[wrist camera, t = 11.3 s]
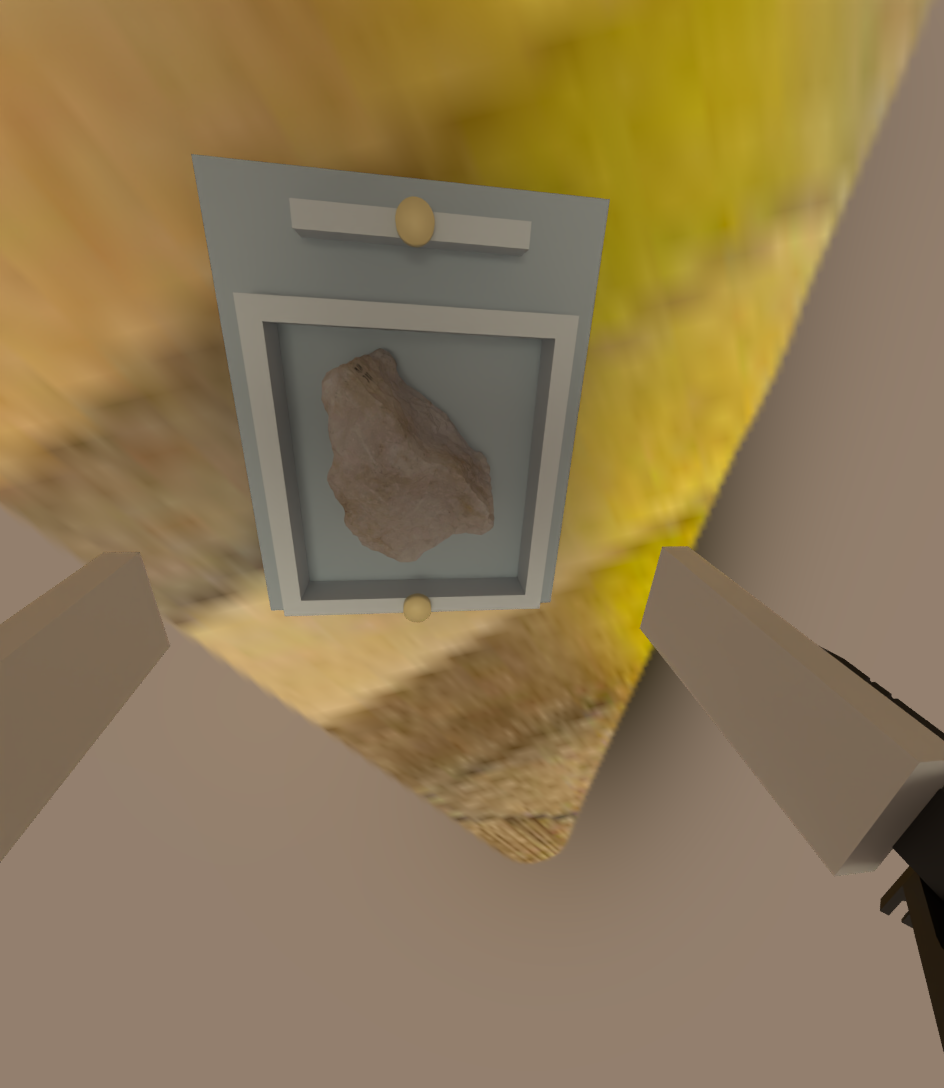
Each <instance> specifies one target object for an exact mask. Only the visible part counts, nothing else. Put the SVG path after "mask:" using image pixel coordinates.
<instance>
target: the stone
mask: <svg viewBox="0 0 944 1088" xmlns="http://www.w3.org/2000/svg"><path fill="white" fill-rule="evenodd" d="M396 366H397V364H396V361H395V359H394V358H393V357H392V355H391V354H390V352H388V351H386V350H384V349H381V348H378V349H377V350H375V351H373V352H372V353H370V354H367V355H363V356H361V357H355V358H354V359H353V360H351V361H349V362H348V363H347V364H342V365H339V367H336V368H334V369H332V370H330V371H328V372H327V373H326V375H325V377H324V379H323V380H322V397H321V400H322V402H323V404H324V408H325V410H326V412H327V413H328V415H329V418H328V432H329V439H330V442H331V445H332V450H333V454H334V457H333V462H332V466H331V468H330V470H329V472H328V475H327V481H328V483H329V486H330V488H331V489H332V490H333V492H334V495H335V498H336V499H337V500H338V501H339V503H340V504H341V505H342V506H343V508H344V511H345V516H344V522H345V525H346V526H347V527H348V529H349V530H350V531H351V532H352V533H353V535H355V536H357V537H358V539H359V541H360V542H361V543H362V545H363V546H365V547H368V548H369V549H371V550H373V551H378V552H380V553H382V554H384V555H386V556H387V557H390V558H393V559H395V560H397V561H399V562H413V561H416V560H417V559H419V558H420V557H421V555H422V554H423V553H424V552H426V551H427V550H429V549H432V548H434V547H435V546H437V545H438V544H439V543H441V542H442V541H444V540H445V539H447V538H449V537H450V536H451V535H452V534H462V533H468V534H476V535H483V534H485V533H486V532H488V531H490V530H491V529H492V528H493V526H494V506H493V496H492V492H491V490H492V487H491V477H490V475H489V474H490V470H491V469H490V466H489V464H488V463H487V458H486V457H485V456H484V455H483V453H482V452H476V451H474V450H473V449H472V448H471V447H469V445H468V444H467V442H466V441H465V440H464V438H463V437H462V436H461V435H460V433H459V432H458V431H457V428H456V427H455V425H454V424H453V423H452V422H451V420H450V419H449V417H448V416H447V414H445V413H444V412H443V411H442V410H440V409H439V408H437V407H436V406H434V405H433V404H432V403H431V402H430V401H429V400H427V399H426V398H425V397H424V396H423V395H422V394H421V393H420V392H418V391H416V390H415V389H413V388H412V387H410V386H408V385H407V384H406V383H405V382H404V381H403V380H402V378H401V377H400V376H399V374H398V372H397V370H396Z"/></svg>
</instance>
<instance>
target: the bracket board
mask: <svg viewBox="0 0 944 1088" xmlns="http://www.w3.org/2000/svg"><path fill="white" fill-rule="evenodd" d="M191 155H192V161H193V167H194V172H195V178H196V184H197V190H198V195H199V201H200V207H201V212H202V218H203V224H204V230H205V235H206V241H207V247H208V252H209V258H210V264H211V270H212V275H213V281H214V287H215V292H216V298H217V304H218V310H219V315H220V321H221V327H222V332H223V338H224V344H225V350H226V355H227V361H228V367H229V372H230V378H231V384H232V390H233V395H234V401H235V407H236V412H237V418H238V424H239V430H240V435H241V441H242V447H243V452H244V458H245V464H246V470H247V475H248V481H249V487H250V492H251V498H252V504H253V510H254V515H255V521H256V527H257V533H258V538H259V544H260V550H261V555H262V561H263V567H264V573H265V578H266V584H267V590H268V595H269V601H270V607H271V610H284V615H285V616H310V615H342V614H374V613H404V616H405V617H406V618H407V619H408V620H410V621H412V622H422V621H424V620H426V619H427V618H428V617H429V616H430V614H431V612H439V611H471V610H503V609H536V608H540V603H542V602H550V601H551V594H552V587H553V580H554V574H555V567H556V560H557V553H558V546H559V540H560V533H561V526H562V519H563V513H564V506H565V499H566V492H567V485H568V479H569V472H570V465H571V458H572V451H573V445H574V438H575V431H576V424H577V418H578V411H579V404H580V397H581V390H582V384H583V377H584V370H585V363H586V356H587V350H588V343H589V336H590V329H591V323H592V316H593V309H594V302H595V295H596V289H597V282H598V275H599V268H600V261H601V255H602V248H603V241H604V234H605V228H606V221H607V214H608V207H609V199H600V198H591V197H582V196H572V195H563V194H554V193H545V192H536V191H526V190H517V189H508V188H499V187H489V186H480V185H471V184H462V183H452V182H443V181H434V180H425V179H416V178H406V177H397V176H388V175H379V174H369V173H360V172H351V171H342V170H332V169H323V168H314V167H305V166H296V165H286V164H277V163H268V162H259V161H249V160H240V159H231V158H222V157H212V156H203V155H194V154H191ZM378 348H381V349H384V350H386V351H388V352H390V354H391V355H392V357H393V358H394V359H395V361H396V364H397V366H396V370H397V372H398V374H399V376H400V377H401V378H402V380H403V381H404V382H405V383H406V384H407V385H408V386H410V387H412V388H413V389H415V390H416V391H418V392H420V393H421V394H422V395H423V396H424V397H425V398H426V399H427V400H429V401H430V402H431V403H432V404H433V405H434V406H436V407H437V408H439V409H440V410H442V411H443V412H444V413H445V414H447V416H448V417H449V419H450V420H451V422H452V423H453V424H454V425H455V427H456V428H457V431H458V432H459V433H460V435H461V436H462V437H463V438H464V440H465V441H466V442H467V444H468V445H469V447H471V448H472V449H473V450H474V451H476V452H482V453H483V455H484V456H485V457H486V458H487V463H488V464H489V466H490V469H491V470H490V474H489V475H490V477H491V487H492V490H491V492H492V496H493V506H494V526H493V528H492V529H491V530H490V531H488V532H486V533H485V534H483V535H476V534H468V533H462V534H452V535H451V536H450V537H449V538H447V539H445V540H444V541H442V542H441V543H439V544H438V545H437V546H435V547H434V548H432V549H429V550H427V551H426V552H424V553H423V554H422V555H421V557H420V558H419V559H417V560H416V561H413V562H399V561H397V560H395V559H393V558H390V557H387V556H386V555H384V554H382V553H380V552H378V551H373V550H371V549H369V548H368V547H365V546H363V545H362V543H361V542H360V541H359V539H358V537H357V536H355V535H353V533H352V532H351V531H350V530H349V529H348V527H347V526H346V525H345V522H344V516H345V511H344V508H343V506H342V505H341V504H340V503H339V501H338V500H337V499H336V498H335V495H334V492H333V490H332V489H331V488H330V486H329V483H328V481H327V475H328V472H329V470H330V468H331V466H332V462H333V457H334V454H333V450H332V445H331V442H330V439H329V432H328V418H329V415H328V413H327V412H326V410H325V408H324V404H323V402H322V400H321V397H322V380H323V379H324V377H325V375H326V373H327V372H328V371H330V370H332V369H334V368H336V367H339V365H342V364H347V363H348V362H349V361H351V360H353V359H354V358H355V357H361V356H363V355H367V354H370V353H372V352H373V351H375V350H377V349H378Z"/></svg>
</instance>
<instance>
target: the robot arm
mask: <svg viewBox="0 0 944 1088" xmlns="http://www.w3.org/2000/svg"><path fill="white" fill-rule="evenodd" d="M640 629H641V630H642V631H643V633H644V634H645V635H646V637H647V638H648V639H649V640H650V642H651V643H652V644H653V646H654V647H655V648H656V649H657V650H658V652H659V653H660V654H661V656H662V657H663V658H664V660H665V661H666V662H667V663H668V665H669V666H670V667H671V669H672V670H673V671H674V672H675V673H676V675H677V676H678V677H679V679H680V680H681V681H682V683H683V684H684V685H685V686H686V688H687V689H688V690H689V692H690V693H691V694H692V695H693V696H694V698H695V699H696V700H697V702H698V703H699V704H700V705H701V707H702V708H703V709H704V711H705V712H706V713H707V714H708V716H709V717H710V718H711V719H712V721H713V722H714V723H715V725H716V726H717V727H718V728H719V730H720V731H721V732H722V733H723V735H724V736H725V737H726V739H727V740H728V741H729V743H730V744H731V745H732V746H733V748H734V749H735V750H736V752H737V753H738V754H739V755H740V757H741V758H742V759H743V760H744V762H745V763H746V764H747V765H748V767H749V768H750V769H751V770H752V772H753V773H754V775H755V776H756V777H757V778H758V779H759V781H760V782H761V783H762V785H763V786H764V787H765V789H766V790H767V791H768V792H769V794H770V795H771V796H772V798H773V799H774V800H775V801H776V802H777V804H778V805H779V806H780V808H781V809H782V810H783V812H784V813H785V814H786V815H787V816H788V818H789V819H790V821H791V822H792V823H793V824H794V826H795V827H796V828H797V829H798V831H799V832H800V833H801V835H802V836H803V837H804V838H805V840H806V841H807V842H808V843H809V845H810V846H811V847H812V849H813V850H814V851H815V852H816V854H817V855H818V856H819V858H820V859H821V860H822V861H823V863H824V864H825V865H826V867H827V868H828V869H829V870H830V872H831V873H832V874H833V875H834V876H841V875H849V874H856V873H864V872H871V871H875V870H876V869H877V867H878V866H879V865H880V864H881V863H882V861H883V860H884V859H885V858H886V856H887V855H888V854H889V853H890V851H891V850H892V849H894V850H895V851H896V852H897V853H898V854H899V855H900V856H901V857H902V858H903V859H904V860H905V861H906V862H907V864H908V865H909V867H908V868H907V869H906V871H905V872H904V873H903V874H902V875H901V876H900V877H899V879H898V880H897V881H896V882H895V883H894V884H893V886H892V887H891V888H890V889H889V890H888V891H887V892H886V894H885V895H884V896H883V897H882V898H881V904H880V911H881V912H883V913H885V914H887V915H890V913H891V912H892V911H893V910H894V909H895V908H896V907H897V906H898V905H899V904H900V903H901V901H902V900H903V901H906V902H907V906H908V910H909V911H908V912H907V913H906V914H905V915H904V917H903V918H902V923H904V924H906V925H908V926H910V927H912V928H913V929H914V934H915V938H916V942H917V946H918V950H919V954H920V958H921V962H922V966H923V970H924V974H925V978H926V982H927V986H928V990H929V995H930V999H931V1003H932V1006H933V1011H934V1015H935V1019H936V1023H937V1027H938V1031H939V1035H940V1039H941V1043H942V1047H943V1051H944V733H943V732H942V731H940V730H939V729H938V728H936V727H935V726H934V725H932V724H931V723H930V722H928V721H927V720H925V719H924V718H923V717H921V716H920V715H919V714H917V713H916V712H915V711H913V710H912V709H911V708H909V707H908V706H906V705H905V704H904V703H903V702H901V701H900V700H899V699H893V698H892V696H891V693H889V692H888V691H887V690H885V689H884V688H883V687H881V686H880V685H878V684H877V683H876V682H871V681H870V678H869V677H868V676H866V675H865V674H864V673H862V672H861V671H860V670H858V669H857V668H856V667H854V666H853V665H852V664H850V663H849V662H847V661H846V660H845V659H843V658H841V657H839V656H837V655H836V654H834V653H832V652H830V651H827V650H826V649H824V648H822V647H820V646H818V645H817V644H816V643H814V642H813V641H812V640H810V639H809V638H808V637H806V636H805V635H804V634H802V633H801V632H800V631H798V630H797V629H796V628H795V627H793V626H792V625H791V624H789V623H788V622H787V621H785V620H784V619H783V618H781V617H780V616H779V615H777V614H776V613H775V612H773V611H772V610H771V609H769V608H768V607H767V606H765V605H764V604H763V603H762V602H760V601H759V600H757V599H756V598H755V597H754V596H752V595H751V594H750V593H748V592H747V591H746V590H744V589H743V588H742V587H740V586H739V585H738V584H737V583H735V582H734V581H733V580H731V579H730V578H729V577H727V576H726V575H725V574H723V573H722V572H721V571H719V570H718V569H717V568H715V567H714V566H713V565H712V564H710V563H709V562H708V561H706V560H705V559H704V558H702V557H701V556H700V555H698V554H697V553H696V552H694V551H693V550H692V549H690V548H689V547H662V550H661V554H660V557H659V561H658V565H657V568H656V572H655V575H654V579H653V583H652V586H651V590H650V594H649V597H648V601H647V605H646V608H645V612H644V616H643V619H642V623H641V627H640ZM169 647H170V644H169V641H168V638H167V635H166V632H165V628H164V625H163V622H162V619H161V616H160V613H159V610H158V607H157V604H156V600H155V597H154V594H153V591H152V588H151V585H150V582H149V579H148V576H147V573H146V569H145V566H144V563H143V560H142V557H141V554H140V552H104V553H102V554H101V555H99V556H98V557H96V558H95V559H93V560H92V561H91V562H89V563H88V564H86V565H85V566H83V567H82V568H81V569H79V570H78V571H76V572H75V573H73V574H72V575H70V576H69V577H68V578H66V579H65V580H64V581H62V582H60V583H59V584H58V585H56V586H55V587H53V588H52V589H50V590H49V591H47V592H46V593H45V594H43V595H42V596H40V597H39V598H37V599H36V600H35V601H33V602H32V603H30V604H29V605H27V606H26V607H24V608H23V609H22V610H20V611H19V612H17V613H16V614H14V615H13V616H12V617H10V618H9V619H7V620H6V621H4V622H3V623H2V624H0V862H1V861H2V860H3V858H4V857H5V856H6V855H7V853H8V852H9V851H10V850H11V848H12V847H13V846H14V844H15V843H16V842H17V841H18V839H19V838H20V837H21V835H22V834H23V833H24V832H25V830H26V829H27V827H29V825H30V824H31V823H32V821H33V820H34V819H35V818H36V816H37V815H38V814H39V813H40V811H41V810H42V809H43V807H44V806H45V805H46V804H47V802H48V801H49V800H50V799H51V797H52V796H53V795H54V793H55V792H56V791H57V790H58V788H59V787H60V786H61V785H62V783H63V782H64V781H65V779H66V778H67V777H68V776H69V774H70V773H71V772H72V771H73V769H74V768H75V767H76V765H77V764H78V763H79V762H80V760H81V759H82V758H83V756H84V755H85V754H86V752H87V751H88V750H89V749H90V747H91V746H92V745H93V744H94V742H95V741H96V740H97V739H98V737H99V736H100V735H101V734H102V732H103V731H104V730H105V728H106V727H107V726H108V725H109V723H110V722H111V721H112V720H113V718H114V717H115V715H116V714H117V713H118V712H119V711H120V709H121V708H122V707H123V706H124V704H125V703H126V702H127V700H128V699H129V698H130V697H131V695H132V694H133V693H134V691H135V690H136V689H137V688H138V686H139V685H140V684H141V683H142V681H143V680H144V679H145V678H146V676H147V675H148V674H149V672H150V671H151V670H152V669H153V667H154V666H155V665H156V664H157V662H158V661H159V660H160V658H161V657H162V656H163V655H164V653H165V652H166V651H167V650H168V648H169Z"/></svg>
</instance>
